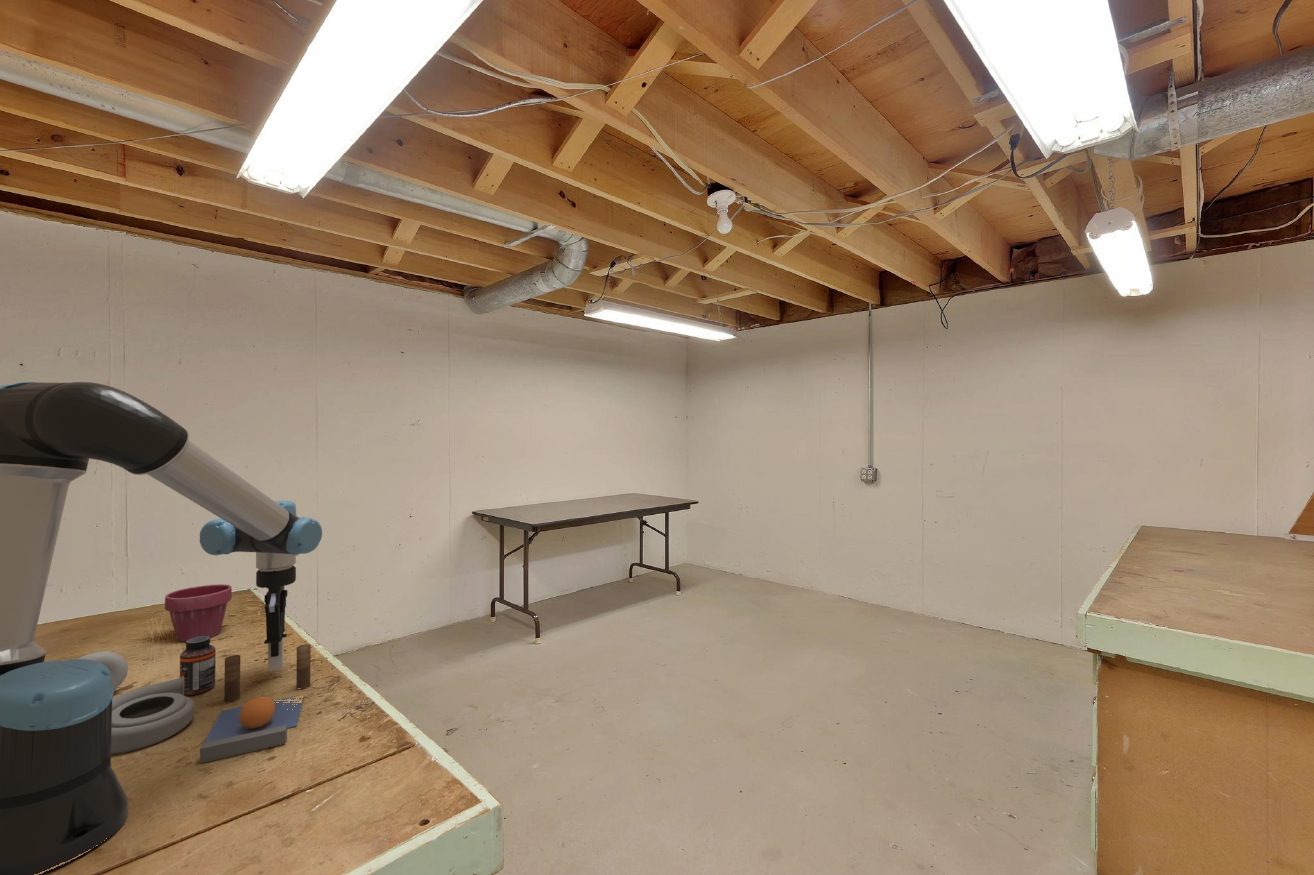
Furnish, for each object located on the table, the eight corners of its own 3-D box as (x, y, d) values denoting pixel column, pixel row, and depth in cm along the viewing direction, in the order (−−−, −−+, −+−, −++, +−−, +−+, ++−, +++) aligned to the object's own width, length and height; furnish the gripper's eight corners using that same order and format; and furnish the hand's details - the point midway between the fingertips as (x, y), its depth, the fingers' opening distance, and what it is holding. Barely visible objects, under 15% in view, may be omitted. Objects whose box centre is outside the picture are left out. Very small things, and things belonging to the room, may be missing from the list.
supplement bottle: (174, 692, 114) (174, 640, 114) (207, 681, 119) (208, 632, 119) (186, 699, 111) (187, 646, 111) (220, 687, 116) (221, 636, 116)
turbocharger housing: (76, 776, 88) (195, 741, 98) (76, 738, 88) (195, 707, 98) (88, 728, 100) (192, 701, 111) (88, 695, 100) (192, 671, 110)
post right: (309, 687, 116) (310, 647, 116) (295, 690, 115) (295, 649, 115) (310, 682, 119) (311, 643, 119) (297, 685, 117) (297, 645, 118)
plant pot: (182, 629, 152) (183, 585, 152) (240, 624, 156) (240, 581, 156) (152, 648, 138) (152, 600, 138) (216, 642, 142) (216, 595, 142)
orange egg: (277, 690, 105) (276, 719, 104) (242, 696, 102) (241, 726, 101) (273, 698, 100) (273, 728, 99) (237, 705, 97) (236, 736, 96)
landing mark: (296, 726, 101) (296, 725, 101) (202, 746, 94) (202, 745, 94) (304, 695, 113) (304, 694, 113) (222, 711, 106) (222, 710, 106)
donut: (58, 711, 106) (59, 661, 106) (59, 705, 108) (59, 657, 108) (128, 693, 113) (129, 647, 113) (127, 688, 116) (128, 643, 116)
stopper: (285, 744, 95) (285, 730, 95) (199, 763, 89) (199, 748, 89) (286, 738, 97) (287, 725, 97) (203, 757, 91) (203, 742, 91)
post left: (238, 701, 110) (238, 658, 110) (222, 703, 109) (223, 660, 109) (241, 695, 113) (241, 653, 113) (225, 698, 111) (226, 656, 111)
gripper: (292, 571, 118) (291, 676, 118) (299, 560, 129) (298, 655, 129) (250, 575, 114) (249, 683, 114) (261, 563, 126) (260, 661, 126)
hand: (275, 668), depth 122 cm, fingers closed
